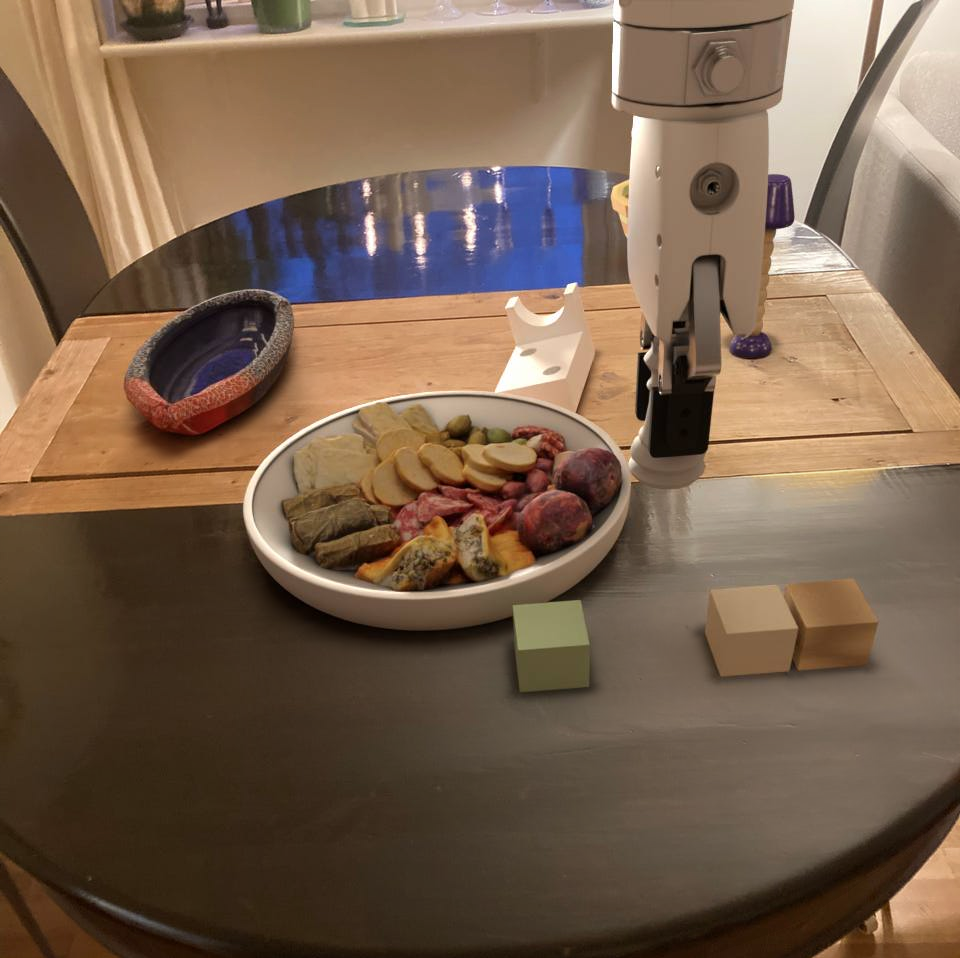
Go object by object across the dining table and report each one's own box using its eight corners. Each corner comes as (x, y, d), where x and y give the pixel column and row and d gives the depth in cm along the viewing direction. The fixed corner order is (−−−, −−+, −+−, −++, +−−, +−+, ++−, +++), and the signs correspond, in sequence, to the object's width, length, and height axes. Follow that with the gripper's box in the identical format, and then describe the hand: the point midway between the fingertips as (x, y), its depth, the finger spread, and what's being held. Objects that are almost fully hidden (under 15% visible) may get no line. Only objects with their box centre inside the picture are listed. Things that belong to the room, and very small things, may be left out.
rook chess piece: (665, 501, 53) (675, 367, 48) (611, 470, 56) (615, 340, 51) (721, 473, 55) (737, 341, 50) (666, 445, 58) (676, 317, 53)
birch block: (841, 630, 65) (854, 578, 63) (864, 674, 62) (879, 621, 59) (775, 635, 65) (785, 583, 63) (795, 680, 62) (806, 627, 59)
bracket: (530, 366, 101) (510, 298, 97) (595, 353, 99) (576, 282, 94) (505, 426, 92) (480, 353, 88) (575, 412, 89) (554, 337, 85)
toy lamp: (725, 340, 101) (744, 171, 90) (770, 338, 101) (794, 169, 90) (732, 360, 98) (753, 186, 87) (779, 358, 97) (805, 183, 86)
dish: (327, 323, 111) (320, 280, 108) (243, 458, 88) (230, 409, 85) (201, 323, 113) (190, 281, 110) (87, 455, 91) (69, 407, 87)
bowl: (201, 644, 68) (172, 555, 63) (313, 437, 91) (297, 358, 86) (623, 664, 64) (628, 570, 59) (631, 441, 86) (635, 359, 81)
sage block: (580, 650, 66) (580, 599, 63) (589, 696, 62) (590, 644, 59) (514, 655, 66) (512, 605, 63) (520, 701, 62) (517, 650, 59)
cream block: (768, 635, 65) (778, 584, 63) (787, 680, 62) (798, 628, 59) (703, 641, 66) (709, 589, 63) (719, 686, 62) (726, 633, 59)
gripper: (845, 99, 36) (776, 510, 48) (736, 26, 48) (703, 366, 60) (646, 115, 36) (627, 521, 48) (588, 38, 48) (585, 375, 60)
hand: (670, 432), depth 54 cm, fingers closed on rook chess piece, 3 cm apart
